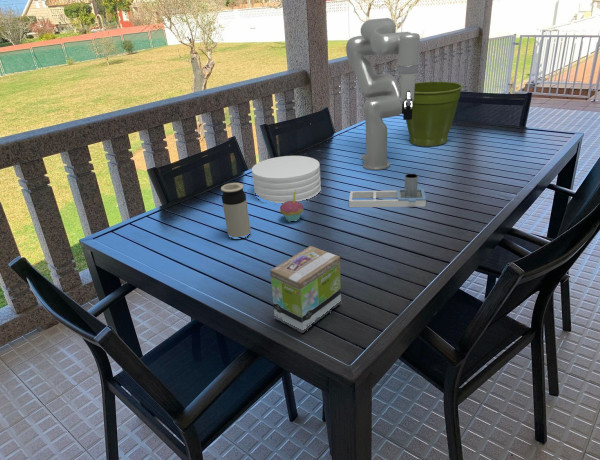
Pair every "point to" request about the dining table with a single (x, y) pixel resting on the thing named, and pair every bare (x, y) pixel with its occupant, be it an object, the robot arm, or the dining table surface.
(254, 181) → the plate stack
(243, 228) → the travel mug
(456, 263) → the dining table surface
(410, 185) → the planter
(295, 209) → the cupcake
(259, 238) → the dining table surface
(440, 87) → the plant pot
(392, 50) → the robot arm
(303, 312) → the tea box
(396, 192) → the white ladder frame
